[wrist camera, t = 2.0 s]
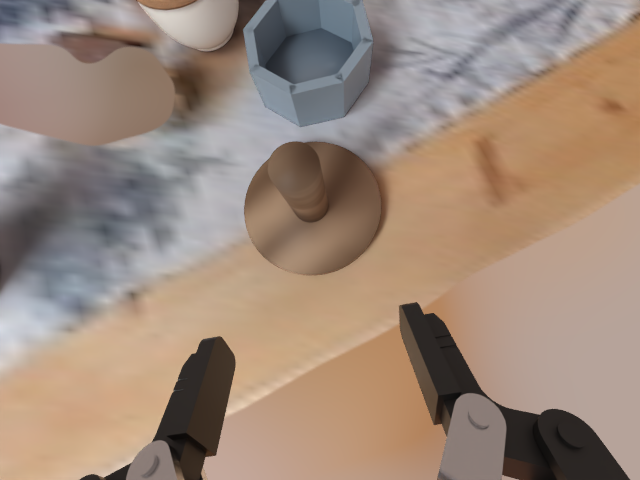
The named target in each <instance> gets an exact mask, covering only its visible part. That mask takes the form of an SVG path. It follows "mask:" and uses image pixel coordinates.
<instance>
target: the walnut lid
mask: <svg viewBox="0 0 640 480" xmlns="http://www.w3.org/2000/svg"><path fill="white" fill-rule="evenodd" d="M244 215H245V223H246V228H247V231H248V233H249V236H250V238H251V240H252V242H253V244H254V245H255V247H256V248H257V250H258V251H259V252H260V253H261V254H262V255H263V256H264V257H265V258H266V259H267V260H268V261H270V262H271V263H272V264H274V265H276V266H277V267H279V268H281V269H284V270H286V271H289V272H292V273H296V274H302V275H322V274H327V273H331V272H334V271H337V270H339V269H342V268H343V267H345V266H347V265H349V264H350V263H352V262H353V261H354V260H356V259H357V258H358V257H359V256H360V255H361V254H362V253H363V252H364V251H365V249H366V248H367V247H368V245H369V244H370V242H371V240H372V239H373V237H374V235H375V233H376V230H377V228H378V225H379V221H380V216H381V196H380V191H379V188H378V184H377V182H376V180H375V178H374V175H373V174H372V172H371V171H370V169H369V168H368V166H367V165H366V164H365V163H364V162H363V161H362V160H361V159H360V158H359V157H358V156H356V155H355V154H353V153H352V152H350V151H349V150H347V149H345V148H343V147H340V146H337V145H334V144H330V143H325V142H306V143H303V142H288V143H285V144H283V145H281V146H280V147H278V148H277V149H276V150H275V151H274V152H273V153H272V155H271V157H270V158H269V159H268V160H267V161H266V162H265V163H264V164H263V165H262V166H261V167H260V169H259V170H258V171H257V173H256V174H255V176H254V177H253V179H252V181H251V183H250V185H249V188H248V191H247V194H246V199H245V207H244Z"/></svg>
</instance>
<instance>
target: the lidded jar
mask: <svg viewBox="0 0 640 480" xmlns="http://www.w3.org/2000/svg"><path fill="white" fill-rule="evenodd" d="M136 1H137V2H138V3H139V4H140V6H141V7H142V8H143V10H144V11H145V12H146V13H147V15H148V16H149V17H150V18H151V19H152V20H153V21H154V23H155V24H156V25H157V26H158V27H159V28H160V29H161V30H162V31H163V32H164V33H165V34H167V35H168V36H169V37H171V38H172V39H173V40H175V41H176V42H178V43H180V44H182V45H184V46H187V47H190V48H194V49H197V50H200V51H205V52H209V51H214V50H217V49H219V48H221V47H223V46H224V45H225V44H226V43H227V42H228V41H229V40H230V38H231V37H232V35H233V32H234V27H235V24H236V21H237V17H238V10H239V0H136Z"/></svg>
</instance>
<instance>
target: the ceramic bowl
mask: <svg viewBox="0 0 640 480" xmlns="http://www.w3.org/2000/svg"><path fill="white" fill-rule="evenodd" d="M243 32H244V38H245V45H246V51H247V58H248V64H249V71H250V74H251V76H252V78H253V80H254V83H255V85H256V87H257V89H258V91H259V94H260V96H261V98H262V100H263V103H264V105H265V107H267V108H268V109H270V110H272V111H274V112H275V113H277V114H279V115H280V116H282V117H284V118H286V119H287V120H289V121H291V122H293V123H294V124H296V125H298V126H299V127H302V126H307V125H311V124H316V123H320V122H324V121H329V120H333V119H337V118H342V117H344V116H345V115H346V113H347V112H348V111H349V109H350V108H351V106H352V105H353V104H354V102H355V101H356V99H357V98H358V97H359V95H360V94H361V92H362V91H363V90H364V88H365V87H366V85H367V84H368V83H369V75H370V67H371V58H372V49H373V38H372V34H371V30H370V26H369V23H368V19H367V15H366V11H365V8H364V4H363V0H266V1H265V2H264V3H263V5H262V6H261V7H260V8H259V10H258V11H257V12H256V14H255V15H254V16H253V17H252V19H251V20H250V21H249V23H248V24H247V25H246V26H245V28H244V29H243Z"/></svg>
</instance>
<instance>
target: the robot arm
mask: <svg viewBox="0 0 640 480" xmlns="http://www.w3.org/2000/svg"><path fill="white" fill-rule="evenodd" d="M399 316H400V331H401V335H402V339H403V342H404V344H405V347H406V350H407V353H408V355H409V358H410V361H411V364H412V366H413V369H414V372H415V374H416V377H417V380H418V383H419V385H420V388H421V391H422V394H423V396H424V399H425V402H426V405H427V407H428V410H429V413H430V416H431V418H432V421H433V424H434V425H437V424H442V426H443V428H444V431H445V434H446V436H447V439H446V444H445V448H444V452H443V457H442V461H441V465H440V469H439V474H438V478H437V480H502V475H504V476H508V477H511V478H515V479H519V480H630V479H629V478H628V476H627V475H626V474H625V472H624V471H623V470H622V468H621V467H620V465H619V464H618V463H617V461H616V460H615V459H614V457H613V456H612V455H611V453H610V452H609V450H608V449H607V448H606V446H605V445H604V444H603V442H602V441H601V440H600V438H599V437H598V436H597V434H596V433H595V432H594V431H593V430H592V428H590V426H588V425H587V424H586V423H585V422H584V421H582V420H581V419H580V418H578V417H576V416H575V415H573V414H571V413H569V412H566V411H563V410H558V409H549V410H546V411H544V412H542V413H541V415H537V414H533V413H528V412H523V411H518V410H513V409H509V408H506V407H503V406H501V405H499V404H497V403H496V402H494V401H492V400H491V399H490V398H489V397H488V396H487V395H486V394H485V393H484V392H483V391H482V390H481V388H480V387H479V385H478V383H477V381H476V380H475V378H474V376H473V374H472V373H471V371H470V369H469V367H468V365H467V363H466V361H465V360H464V358H463V356H462V354H461V353H460V350H459V349H458V347H457V346H456V343H455V342H454V340H453V338H452V337H451V334H450V332H449V330H448V329H447V327H446V325H445V323H444V322H443V321H442V320H440V319H439V318H438V317H437V316H436V315H435V314H434V313H431V314H425V315H424V314H423V312H422V310H421V307H420V305H419V304H418V303H417V302H415V303H409V304H404V305H400V306H399ZM234 371H235V356H234V354H233V352H232V351H231V350H230V348H229V347H228V345H227V344H226V342H225V341H224V340H223V338H222V337H220V336H219V337H213V338H207V339H203V340H202V341H201V342H200V344H199V347H198V350H197V352H196V353H195V354H191V356H190V357H189V358H188V360H187V361H186V363H185V364H184V365H183V367H182V370H181V372H180V375H179V377H178V382H176V385H175V387H174V392H173V393H172V395H171V397H170V400H169V403H168V405H167V408H166V410H165V413H164V415H163V418H162V420H161V423H160V425H159V428H158V430H157V433H156V435H155V437H154V439H153V441H152V443H150V444H148V445H147V446H146V447H144V448H143V449H142V450H141V451H140V452H139V453H138V455H137V456H136V457H135V459H134V460H133V462H132V463H130V464H129V465H127V466H125V467H123V468H121V469H119V470H117V471H115V472H114V473H112V474H110V475H108V476H106V477H104V478H103V477H100V476H98V475H94V474H91V475H87V476H85V477H83V478H81V479H80V480H208V479H207V476H206V473H205V470H204V469H203V464H204V460H205V457H209V456H215V455H216V452H217V448H218V444H219V439H220V435H221V430H222V425H223V421H224V416H225V412H226V407H227V403H228V398H229V394H230V389H231V385H232V380H233V376H234Z"/></svg>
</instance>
